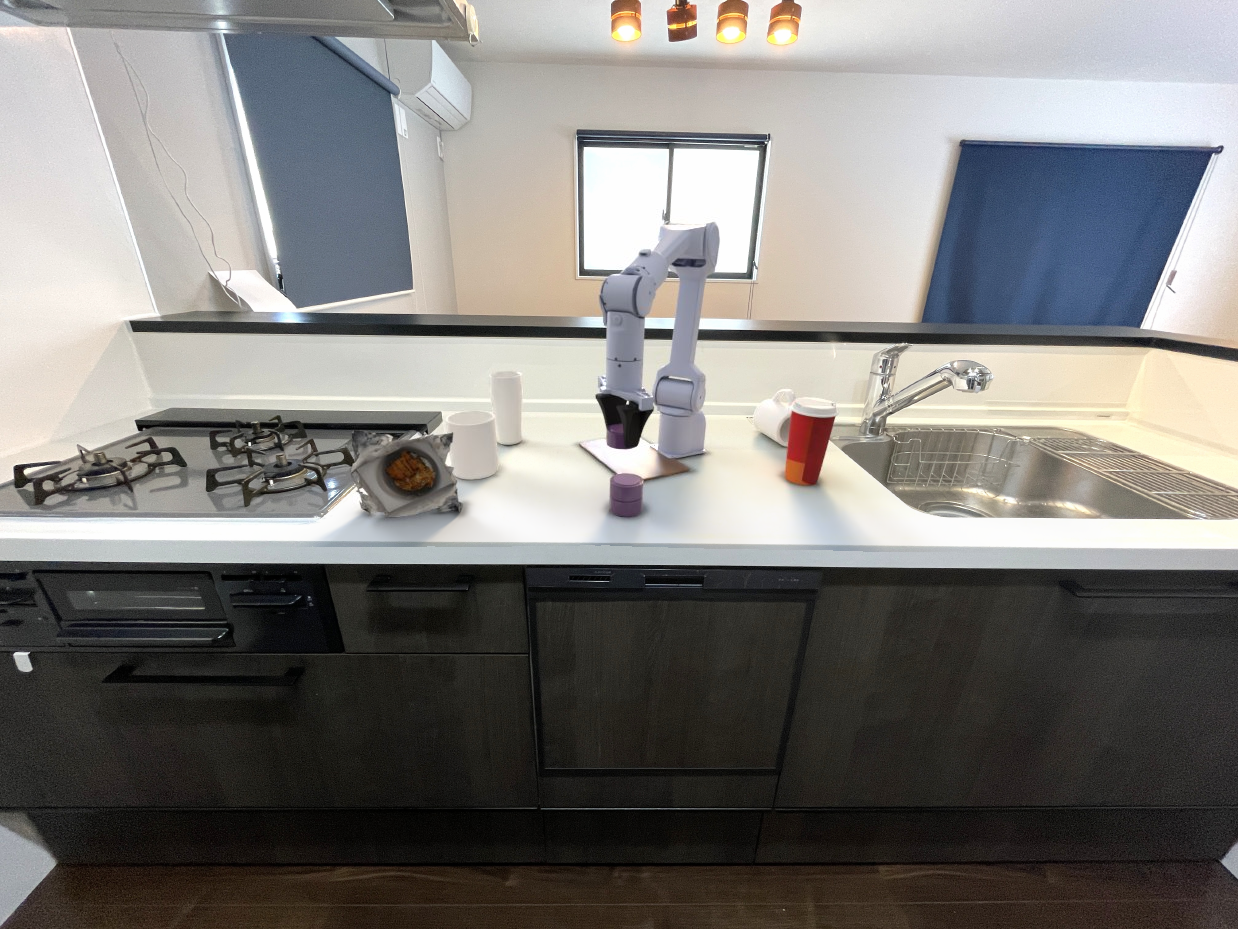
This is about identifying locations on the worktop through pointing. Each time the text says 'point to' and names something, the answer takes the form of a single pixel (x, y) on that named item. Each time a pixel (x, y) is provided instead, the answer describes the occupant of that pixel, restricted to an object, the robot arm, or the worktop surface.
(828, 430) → the coffee cup
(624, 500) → the dish middle
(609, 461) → the mat
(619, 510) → the dish bottom
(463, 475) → the mug
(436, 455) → the meal
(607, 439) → the dish top
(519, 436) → the drinking glass
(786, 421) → the mug
